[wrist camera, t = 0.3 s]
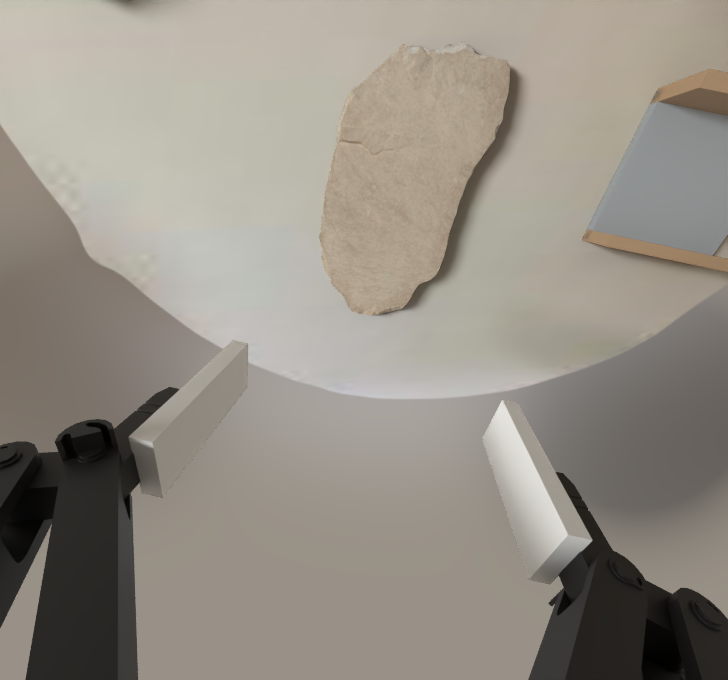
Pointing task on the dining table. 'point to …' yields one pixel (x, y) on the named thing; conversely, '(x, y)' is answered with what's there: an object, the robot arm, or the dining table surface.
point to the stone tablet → (406, 169)
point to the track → (673, 178)
